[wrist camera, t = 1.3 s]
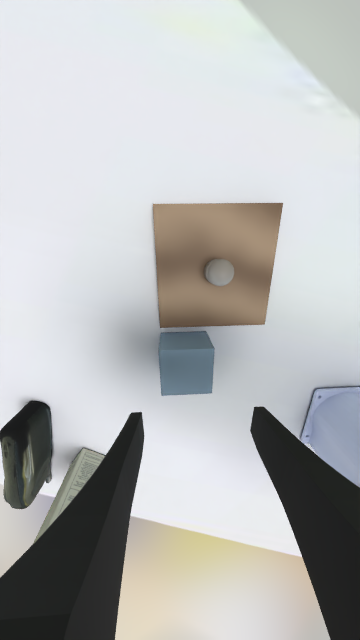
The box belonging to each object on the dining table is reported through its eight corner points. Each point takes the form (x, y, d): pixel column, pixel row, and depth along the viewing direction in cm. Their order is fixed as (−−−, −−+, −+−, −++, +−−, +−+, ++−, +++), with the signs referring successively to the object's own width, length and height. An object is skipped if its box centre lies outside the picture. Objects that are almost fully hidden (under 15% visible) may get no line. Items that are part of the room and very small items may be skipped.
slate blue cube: (204, 369, 21) (211, 393, 17) (163, 370, 21) (161, 395, 17) (206, 331, 19) (214, 348, 15) (161, 332, 19) (158, 350, 15)
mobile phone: (-12, 433, 17) (6, 524, 21) (21, 435, 17) (31, 525, 22) (28, 396, 22) (36, 477, 26) (53, 399, 22) (57, 478, 26)
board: (259, 321, 19) (280, 335, 15) (160, 324, 19) (158, 339, 15) (276, 206, 16) (308, 189, 12) (154, 207, 15) (148, 190, 11)
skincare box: (70, 463, 25) (-14, 632, 14) (84, 445, 24) (4, 612, 13) (109, 477, 27) (62, 641, 15) (123, 461, 26) (84, 624, 14)
